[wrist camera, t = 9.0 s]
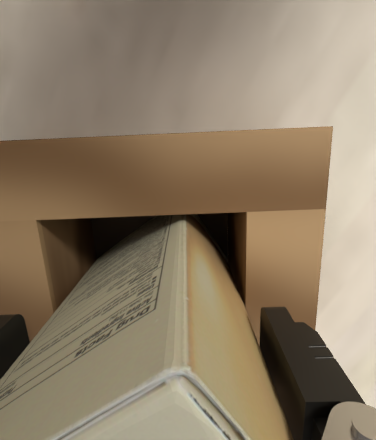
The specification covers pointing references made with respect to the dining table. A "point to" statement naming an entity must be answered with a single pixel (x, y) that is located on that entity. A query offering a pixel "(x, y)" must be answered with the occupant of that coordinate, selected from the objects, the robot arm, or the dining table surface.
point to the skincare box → (146, 350)
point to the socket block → (165, 210)
